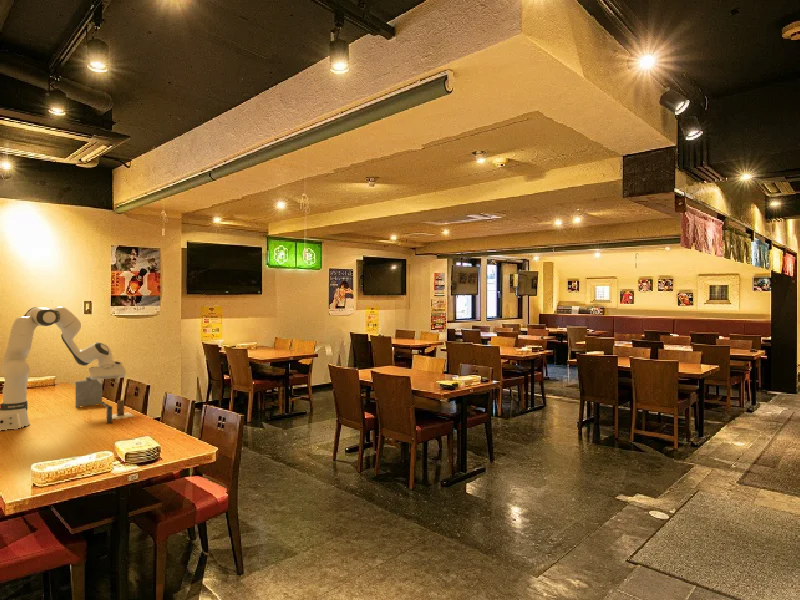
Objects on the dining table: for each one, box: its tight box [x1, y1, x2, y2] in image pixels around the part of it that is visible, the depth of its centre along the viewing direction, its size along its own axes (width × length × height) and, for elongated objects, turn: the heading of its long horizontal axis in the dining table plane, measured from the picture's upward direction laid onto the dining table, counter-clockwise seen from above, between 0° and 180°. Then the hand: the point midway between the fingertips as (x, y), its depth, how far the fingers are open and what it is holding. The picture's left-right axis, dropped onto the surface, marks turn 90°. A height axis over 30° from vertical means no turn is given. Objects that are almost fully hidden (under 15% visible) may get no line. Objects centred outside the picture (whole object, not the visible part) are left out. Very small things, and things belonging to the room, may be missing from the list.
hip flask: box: [75, 376, 103, 408], centre depth 356 cm, size 16×4×20 cm, turn 130°
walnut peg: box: [116, 399, 125, 416], centre depth 320 cm, size 4×4×9 cm
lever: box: [100, 401, 113, 425], centre depth 310 cm, size 2×18×10 cm, turn 42°
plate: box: [112, 411, 135, 421], centre depth 321 cm, size 12×12×1 cm
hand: (109, 382), depth 329 cm, fingers open, 8 cm apart
